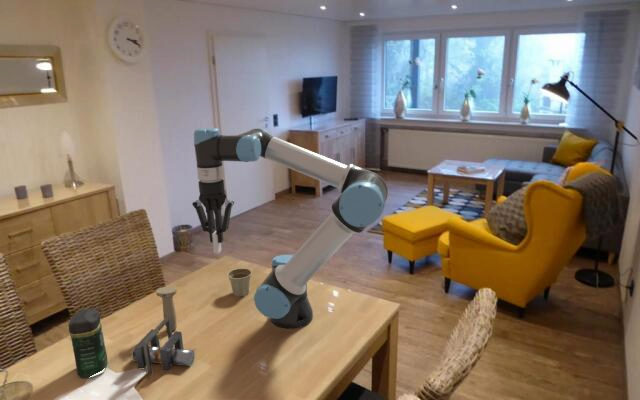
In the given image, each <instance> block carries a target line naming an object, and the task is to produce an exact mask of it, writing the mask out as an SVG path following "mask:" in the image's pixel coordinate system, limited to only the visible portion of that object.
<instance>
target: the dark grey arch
mask: <svg viewBox="0 0 640 400" xmlns="http://www.w3.org/2000/svg"><path fill="white" fill-rule="evenodd" d="M173 332H174V333H173ZM173 332H172V336H171V337H170V338H169V339H168V338H167V341H166V342H165V343H164V344H163V345H162V346H161V347H162V348H161V349H160V356H161V363H160V364H161V368H162V372H170V371H171V369H172V364H171V360H170V353H169V350H170V349H171V348H172V347H173V345H174V347H173V348H174V349H184V342H183V341H184V340H183V334H182V331H177V330H175V331H173Z"/></svg>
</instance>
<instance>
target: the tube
mask: <svg viewBox="0 0 640 400" xmlns="http://www.w3.org/2000/svg"><path fill="white" fill-rule="evenodd" d="M161 348H162V346H160V347H151V345H149V351H150V358H151V363H158V364H162V363H161V356H160V349H161ZM131 353H132V354H131V356H132V360H133V361H136V362H137V360H136V354H135V348H133V350H132V352H131ZM169 353H170V360H171V365H176V366H177V365H178V366H188V367H189V366H190V367H191V366H192V365H193V364H194V361H195V357H196V356H195V355H196V354H195V351H194V350H193V349H184V348H183V349H175V347H173V348H171V349H170V350H169Z"/></svg>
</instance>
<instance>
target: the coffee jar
mask: <svg viewBox="0 0 640 400" xmlns="http://www.w3.org/2000/svg"><path fill="white" fill-rule="evenodd" d="M67 327H68V332H69V336H70V341H71V345H72V351H73V355H74V359H75V361H74V362H75V366H76V367H75V368H76V373H77V377H78V378H80V379H90V378H89V377H90V376H92V375H94V374H96V373H98V372H100V371H102V370H103V369H104V368H106V369H107V367H108V363H109V361H108V360H109V359H108V355H107V354H108V353H107V348H106V345H105V339H104V334H103V326H102V318H101V315H100V311H99V310H97V309H96V308H93V307H90V308H83V309H78V311H75V313H74V314H72V316H71V318H70V320H69V322H68V326H67Z"/></svg>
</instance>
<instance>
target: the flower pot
mask: <svg viewBox="0 0 640 400" xmlns="http://www.w3.org/2000/svg"><path fill="white" fill-rule="evenodd" d="M252 273H253V272H252V270H251V269H249V268H246V267H245V268H244V267H243V268H241V267H239V268H235V269H231V270H230V271H229V272H227V275H226V276H227V278H228V280H229V282H230V286H231V291H232V294H233V296H235V297H238V298H240V297H245V296H247V295H249V294H250V283H251V277H252Z"/></svg>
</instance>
